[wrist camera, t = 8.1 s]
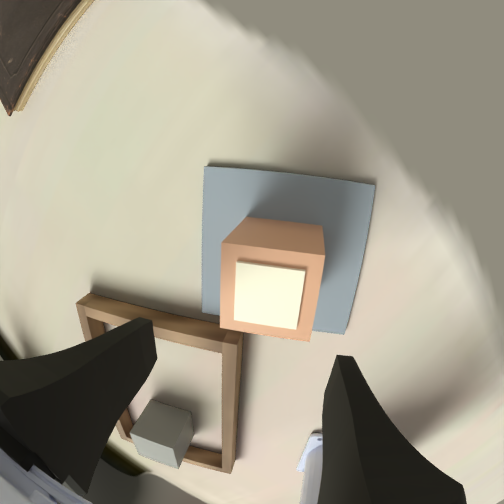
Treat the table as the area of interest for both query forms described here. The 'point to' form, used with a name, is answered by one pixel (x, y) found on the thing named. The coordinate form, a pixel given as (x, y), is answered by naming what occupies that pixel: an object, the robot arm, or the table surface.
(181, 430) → the plain block
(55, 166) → the table surface
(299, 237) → the labelled block
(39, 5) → the hardcover book
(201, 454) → the walnut bin
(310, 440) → the robot arm
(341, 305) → the slate mat
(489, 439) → the table surface
